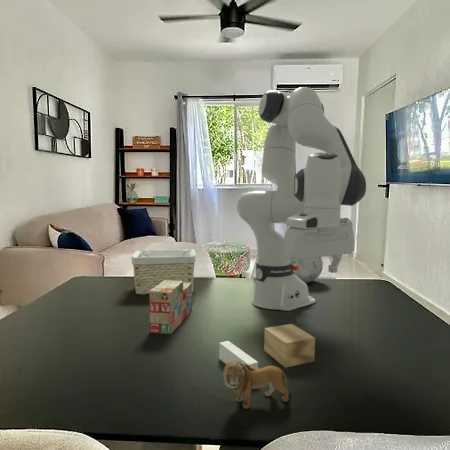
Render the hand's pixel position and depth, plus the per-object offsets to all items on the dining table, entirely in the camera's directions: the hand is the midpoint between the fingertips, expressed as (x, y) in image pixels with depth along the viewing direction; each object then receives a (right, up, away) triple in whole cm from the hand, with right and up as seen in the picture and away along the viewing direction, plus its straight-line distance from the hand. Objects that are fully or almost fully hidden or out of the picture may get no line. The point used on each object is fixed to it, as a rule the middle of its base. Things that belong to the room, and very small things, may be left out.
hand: (319, 274), depth 100 cm
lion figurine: (-18, -22, -23) cm, 37 cm away
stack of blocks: (-40, -17, +22) cm, 48 cm away
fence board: (-21, -20, -9) cm, 31 cm away
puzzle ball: (+10, -12, +69) cm, 70 cm away
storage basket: (-47, -13, +57) cm, 75 cm away
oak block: (-8, -20, -2) cm, 22 cm away
